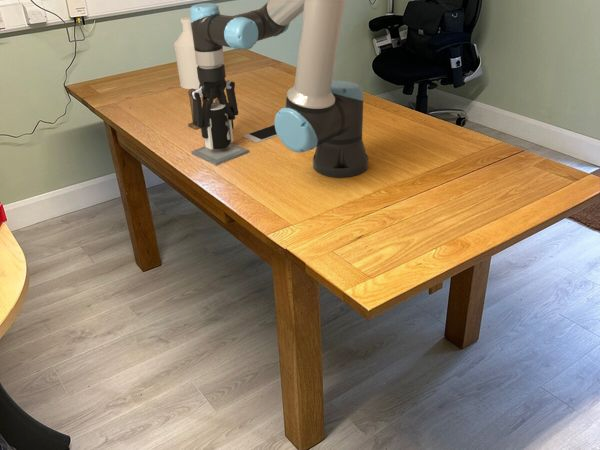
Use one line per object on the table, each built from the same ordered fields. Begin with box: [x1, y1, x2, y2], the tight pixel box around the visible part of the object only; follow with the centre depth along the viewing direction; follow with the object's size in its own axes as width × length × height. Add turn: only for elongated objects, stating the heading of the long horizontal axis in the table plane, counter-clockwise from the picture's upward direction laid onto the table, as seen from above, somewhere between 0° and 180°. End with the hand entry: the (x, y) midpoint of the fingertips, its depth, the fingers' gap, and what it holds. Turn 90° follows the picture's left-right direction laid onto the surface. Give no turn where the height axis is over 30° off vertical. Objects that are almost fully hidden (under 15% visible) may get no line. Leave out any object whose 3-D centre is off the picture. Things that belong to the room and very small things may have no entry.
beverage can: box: [208, 101, 232, 149], centre depth 167 cm, size 7×7×12 cm
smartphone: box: [243, 124, 278, 144], centre depth 184 cm, size 7×15×1 cm, turn 132°
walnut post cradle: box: [187, 88, 219, 130], centre depth 183 cm, size 18×4×13 cm, turn 44°
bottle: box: [173, 16, 200, 90], centre depth 223 cm, size 12×12×25 cm
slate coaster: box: [190, 142, 250, 166], centre depth 171 cm, size 12×12×1 cm
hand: (219, 143), depth 170 cm, fingers closed on beverage can, 7 cm apart
